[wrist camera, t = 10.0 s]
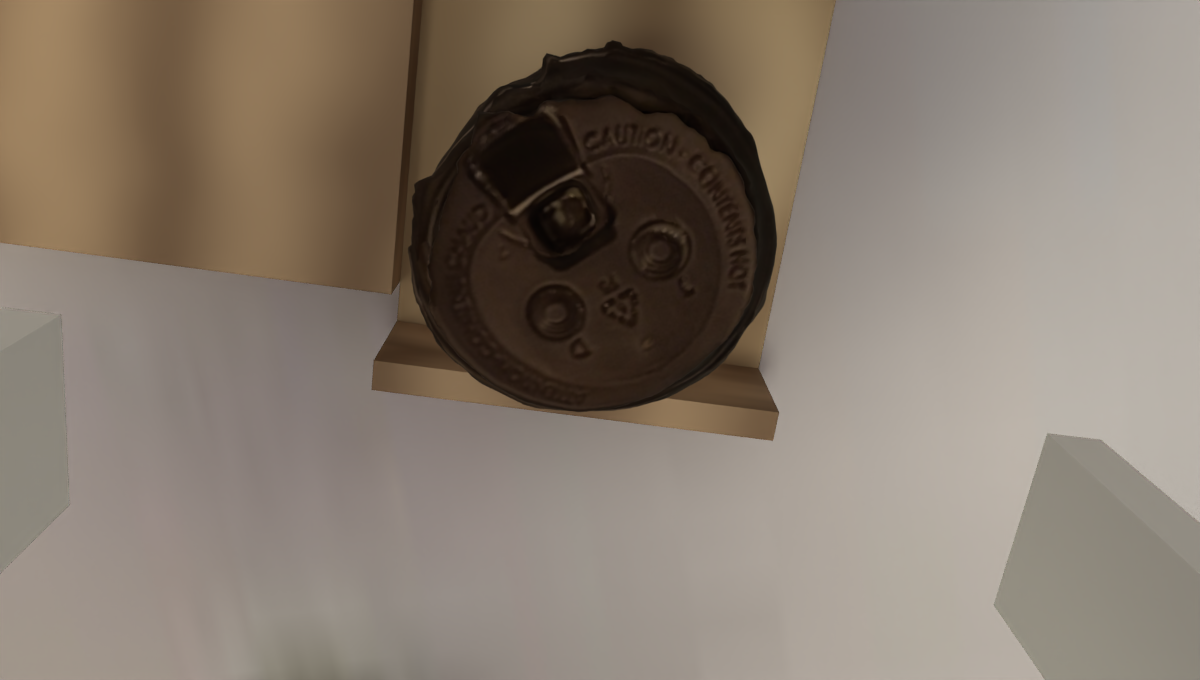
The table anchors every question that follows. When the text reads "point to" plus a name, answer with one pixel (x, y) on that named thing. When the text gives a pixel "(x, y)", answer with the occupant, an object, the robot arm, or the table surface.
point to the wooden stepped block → (351, 140)
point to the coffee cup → (595, 233)
